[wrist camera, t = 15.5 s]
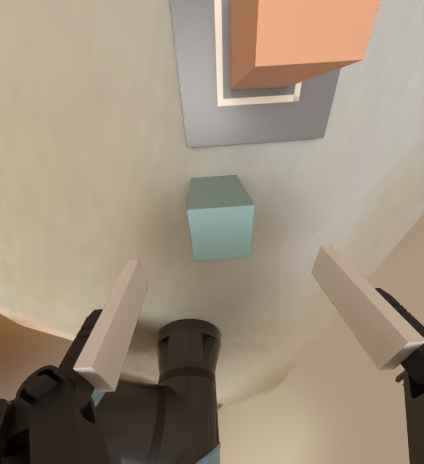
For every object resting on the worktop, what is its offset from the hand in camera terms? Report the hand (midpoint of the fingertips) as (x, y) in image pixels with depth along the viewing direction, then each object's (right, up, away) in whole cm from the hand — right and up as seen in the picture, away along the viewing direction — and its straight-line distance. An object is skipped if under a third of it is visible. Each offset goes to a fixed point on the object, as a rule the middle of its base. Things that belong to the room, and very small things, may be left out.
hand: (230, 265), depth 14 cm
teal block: (-1, +7, +12) cm, 15 cm away
